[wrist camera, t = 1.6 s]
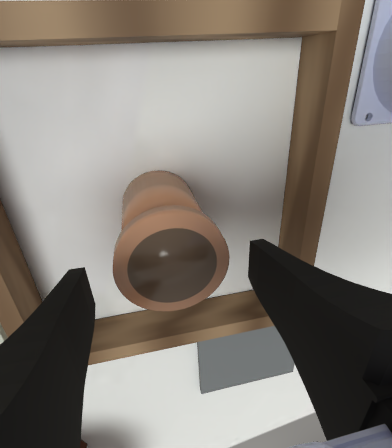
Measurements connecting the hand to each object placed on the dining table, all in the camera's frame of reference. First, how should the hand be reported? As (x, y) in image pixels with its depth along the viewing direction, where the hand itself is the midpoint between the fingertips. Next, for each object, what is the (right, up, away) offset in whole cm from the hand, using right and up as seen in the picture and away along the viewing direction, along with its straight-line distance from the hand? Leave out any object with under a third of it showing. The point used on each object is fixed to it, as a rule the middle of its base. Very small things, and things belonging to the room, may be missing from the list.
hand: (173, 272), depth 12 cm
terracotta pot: (-1, +3, +6) cm, 7 cm away
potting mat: (+6, -10, +15) cm, 19 cm away
